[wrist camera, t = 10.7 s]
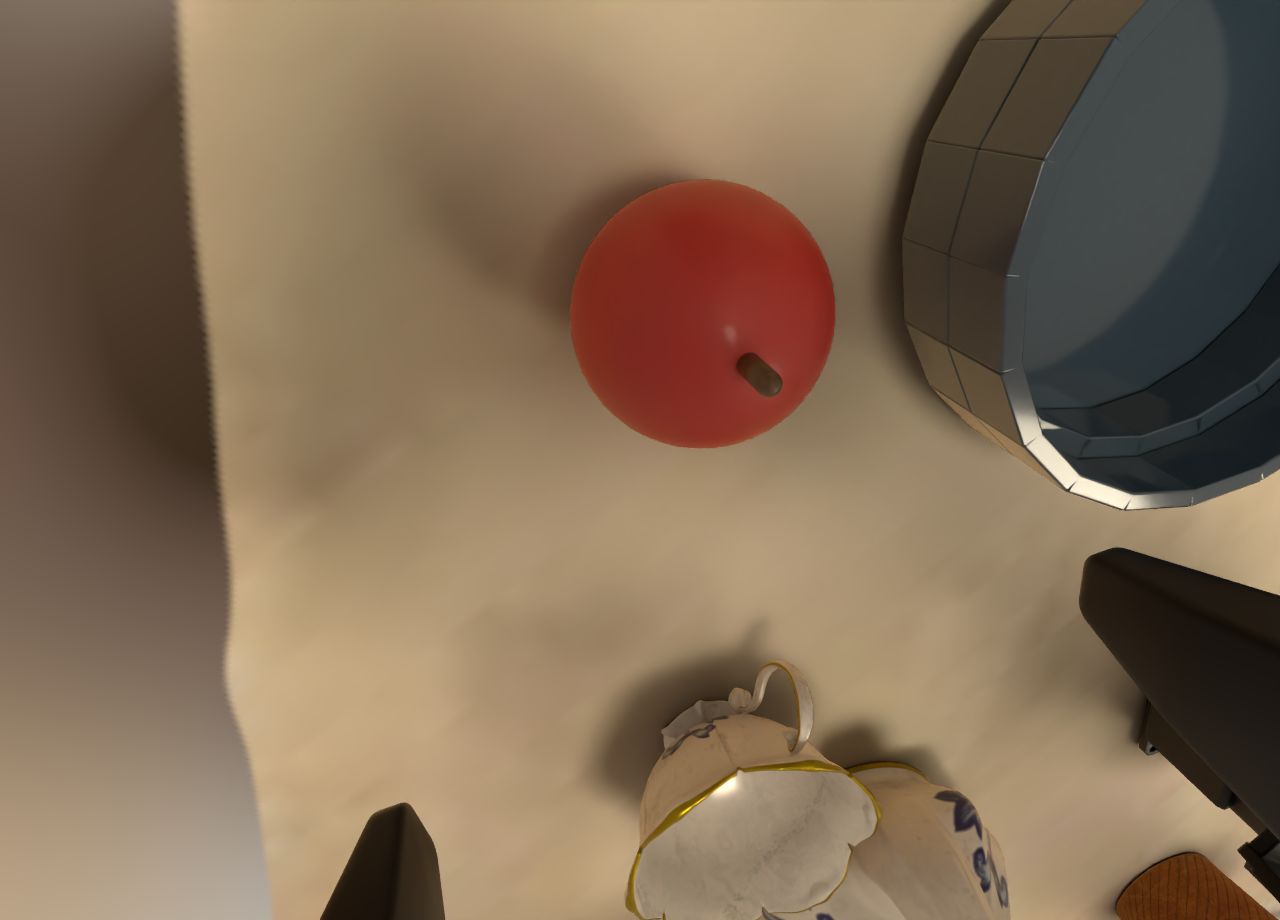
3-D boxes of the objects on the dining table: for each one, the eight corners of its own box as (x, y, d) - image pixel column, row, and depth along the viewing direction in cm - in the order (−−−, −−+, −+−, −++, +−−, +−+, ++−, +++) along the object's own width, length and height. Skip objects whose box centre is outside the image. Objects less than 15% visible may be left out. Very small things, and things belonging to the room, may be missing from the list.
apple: (755, 135, 18) (922, 175, 12) (782, 353, 21) (925, 474, 15) (523, 200, 18) (574, 277, 12) (585, 415, 21) (651, 567, 15)
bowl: (1421, -182, 19) (1713, -252, 14) (1280, 359, 27) (1443, 416, 22) (874, -43, 17) (1021, -75, 13) (895, 489, 25) (991, 578, 21)
